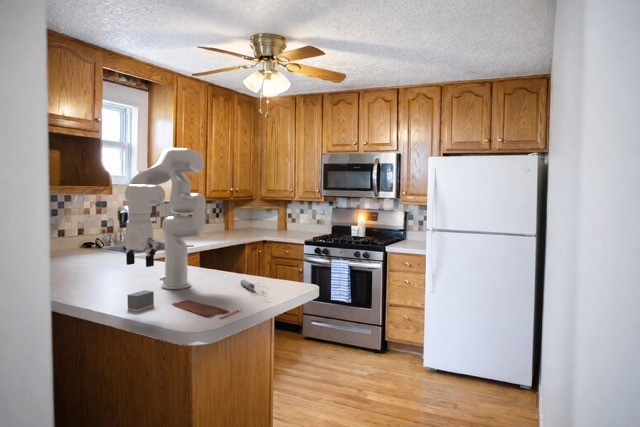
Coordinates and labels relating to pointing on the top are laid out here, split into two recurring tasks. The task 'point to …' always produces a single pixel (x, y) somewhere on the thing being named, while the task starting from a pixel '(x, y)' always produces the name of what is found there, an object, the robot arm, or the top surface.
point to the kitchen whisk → (251, 286)
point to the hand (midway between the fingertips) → (140, 265)
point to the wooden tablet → (200, 308)
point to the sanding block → (140, 300)
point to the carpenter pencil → (230, 314)
